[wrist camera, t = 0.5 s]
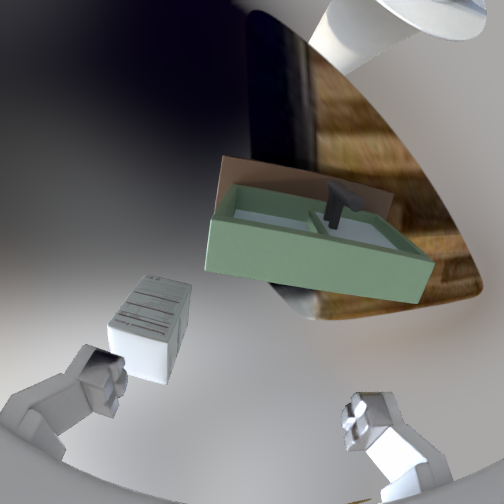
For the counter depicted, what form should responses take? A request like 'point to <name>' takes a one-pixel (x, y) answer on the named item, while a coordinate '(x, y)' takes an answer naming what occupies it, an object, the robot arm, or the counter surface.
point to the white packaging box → (151, 327)
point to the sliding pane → (344, 227)
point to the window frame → (307, 235)
